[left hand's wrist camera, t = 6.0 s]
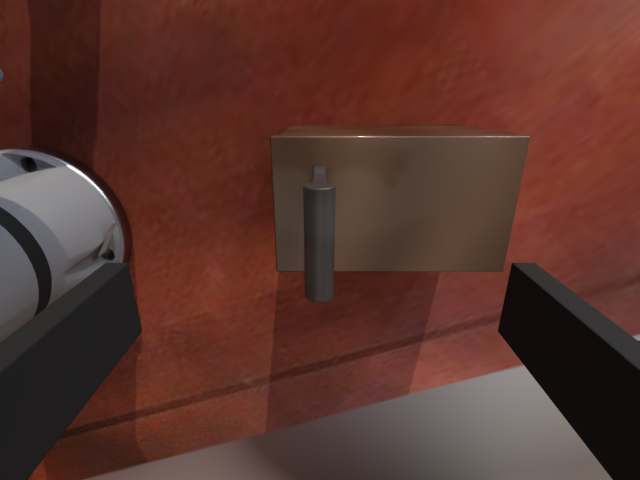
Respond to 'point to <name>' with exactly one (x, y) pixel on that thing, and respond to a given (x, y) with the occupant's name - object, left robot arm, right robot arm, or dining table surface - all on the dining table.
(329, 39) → the dining table surface
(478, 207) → the lid
